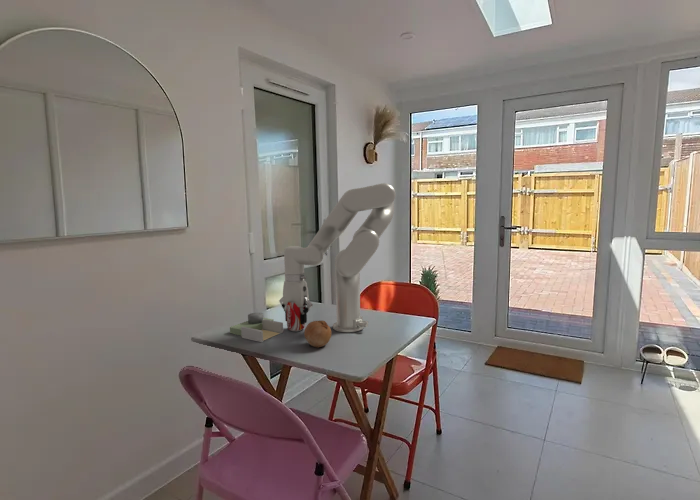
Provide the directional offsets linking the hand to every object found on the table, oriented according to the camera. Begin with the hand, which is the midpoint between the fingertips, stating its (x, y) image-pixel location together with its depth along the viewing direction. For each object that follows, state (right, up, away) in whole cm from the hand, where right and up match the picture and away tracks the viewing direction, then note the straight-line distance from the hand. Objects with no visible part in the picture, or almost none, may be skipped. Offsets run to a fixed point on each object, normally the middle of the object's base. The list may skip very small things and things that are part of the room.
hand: (296, 321), depth 155 cm
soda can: (0, -3, 0) cm, 3 cm away
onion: (+10, -5, -17) cm, 21 cm away
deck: (-14, -4, -1) cm, 14 cm away
